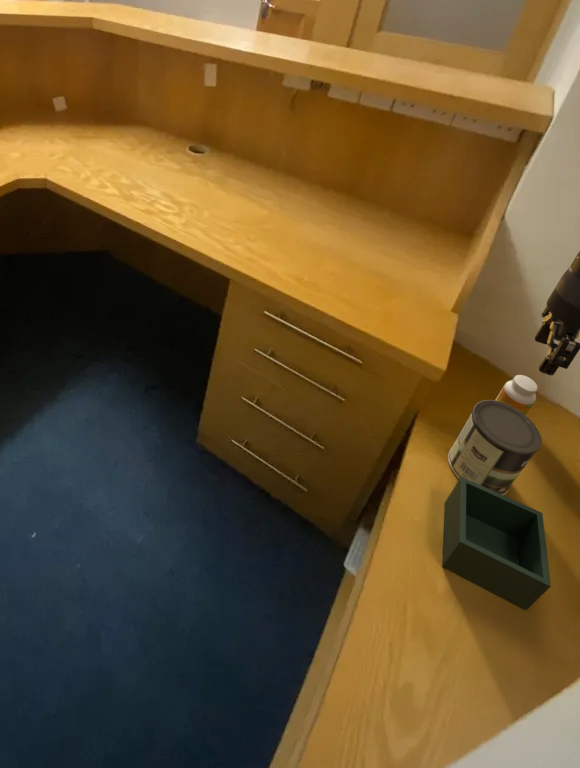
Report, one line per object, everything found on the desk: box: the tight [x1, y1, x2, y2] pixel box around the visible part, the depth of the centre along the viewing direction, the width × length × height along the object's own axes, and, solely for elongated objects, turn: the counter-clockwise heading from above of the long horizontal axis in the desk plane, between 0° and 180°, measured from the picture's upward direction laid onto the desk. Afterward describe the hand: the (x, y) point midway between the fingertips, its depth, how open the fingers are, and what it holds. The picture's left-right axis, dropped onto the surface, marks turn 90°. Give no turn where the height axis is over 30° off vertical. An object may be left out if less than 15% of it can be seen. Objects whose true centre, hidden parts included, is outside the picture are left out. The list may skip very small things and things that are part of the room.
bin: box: [441, 477, 552, 611], centre depth 83 cm, size 12×12×9 cm
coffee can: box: [447, 399, 543, 496], centre depth 93 cm, size 10×10×14 cm
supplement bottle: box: [494, 374, 539, 416], centre depth 105 cm, size 5×5×10 cm
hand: (542, 356), depth 98 cm, fingers open, 8 cm apart
